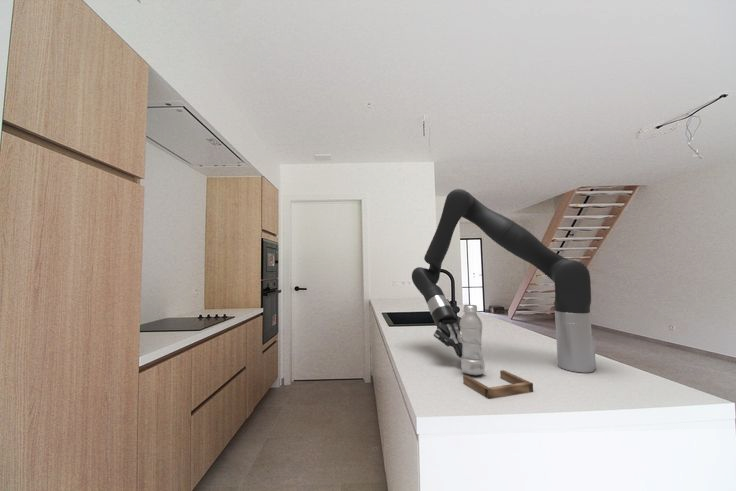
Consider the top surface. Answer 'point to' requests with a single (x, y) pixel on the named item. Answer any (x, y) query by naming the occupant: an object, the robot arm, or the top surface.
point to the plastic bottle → (471, 342)
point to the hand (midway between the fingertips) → (463, 356)
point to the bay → (499, 391)
